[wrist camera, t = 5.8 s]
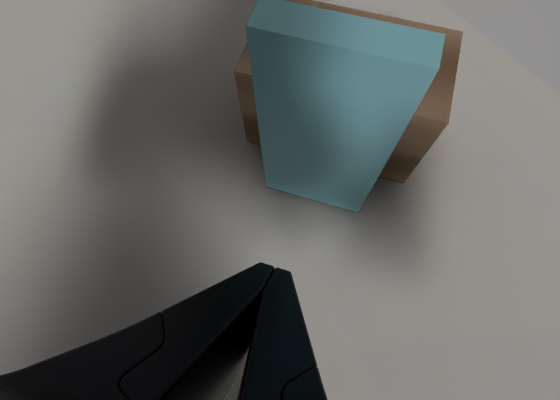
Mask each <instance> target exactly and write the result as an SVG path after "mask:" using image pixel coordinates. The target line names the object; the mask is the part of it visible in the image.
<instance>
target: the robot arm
mask: <svg viewBox="0 0 560 400" xmlns="http://www.w3.org/2000/svg"><path fill="white" fill-rule="evenodd" d="M248 350H249V351H248ZM247 352H248V355H247V359H246V363H245V368H244V372H243V377H242V381H241V385H240V390H239V394H238V398H237V400H327V397H326V393H325V390H324V387H323V384H322V381H321V377H320V374H319V370H318V368H317V363H316V360H315V356H314V353H313V349H312V346H311V342H310V339H309V335H308V331H307V328H306V324H305V321H304V317H303V314H302V310H301V307H300V303H299V299H298V296H297V292H296V289H295V285H294V282H293V278H292V275H291V272H289V271H287V270H283V269H280V268H274V267H273V266H271V265H268V264H264V263H258V264H256V265H254V266H252V267H249V268H247V269H245V270H243V271H241V272H239V273H237V274H235V275H233V276H231V277H229V278H227V279H225V280H223V281H221V282H219V283H217V284H215V285H213V286H211V287H209V288H207V289H205V290H203V291H201V292H199V293H197V294H195V295H193V296H191V297H189V298H187V299H185V300H183V301H181V302H179V303H177V304H175V305H173V306H171V307H169V308H167V309H165V310H163V311H162V313H161V312H159V313H157V314H155V315H153V316H151V317H149V318H147V319H145V320H142V321H140V322H138V323H136V324H134V325H132V326H129V327H127V328H125V329H123V330H121V331H118V332H116V333H113V334H111V335H108V336H106V337H103V338H101V339H99V340H96V341H94V342H91V343H88V344H86V345H83V346H81V347H78V348H75V349H73V350H70V351H68V352H65V353H62V354H60V355H57V356H55V357H52V358H49V359H47V360H44V361H42V362H39V363H37V364H34V365H31V366H29V367H26V368H23V369H20V370H17V371H15V372H11V373H7V374H4V375H0V400H223V399H224V397H225V395H226V393H227V391H228V389H229V387H230V385H231V383H232V382H233V380H234V378H235V376H236V374H237V372H238V370H239V368H240V366H241V364H242V362H243V360H244V358H245V356H246V354H247Z"/></svg>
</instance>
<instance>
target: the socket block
mask: <svg viewBox="0 0 560 400" xmlns="http://www.w3.org/2000/svg"><path fill="white" fill-rule="evenodd" d="M285 1H289V2H294V3H299V4H304V5H309V6H313V7H318V8H323V9H328V10H333V11H337V12H342V13H347V14H352V15H356V16H361V17H366V18H371V19H376V20H380V21H385V22H390V23H395V24H399V25H404V26H409V27H414V28H419V29H423V30H428V31H433V32H438V33H443V34H446V35H445V40H444V46H443V51H442V57H441V62H440V68H439V70H438V72H437V74H436V76H435V77H434V79H433V81H432V83H431V84H430V86H429V88H428V90H427V92H426V93H425V95H424V97H423V99H422V100H421V102H420V104H419V106H418V107H417V109H416V111H415V113H414V115H413V116H412V118H411V120H410V122H409V123H408V125H407V127H406V129H405V130H404V132H403V134H402V136H401V138H400V139H399V141H398V143H397V145H396V146H395V148H394V150H393V152H392V153H391V155H390V157H389V159H388V161H387V162H386V164H385V166H384V168H383V169H382V171H381V173H380V175H379V177H383V178H386V179H390V180H394V181H398V182H401V183H404V182H405V180H406V179H407V178H408V176H409V175H410V174H411V172H412V171H413V170H414V168H415V167H416V166H417V164H418V163H419V162H420V160H421V159H422V158H423V156H424V155H425V154H426V152H427V151H428V150H429V148H430V147H431V146H432V144H433V143H434V142H435V140H436V139H437V138H438V136H439V135H440V134H441V132H442V131H443V130H444V128H445V127H446V126H447V124H448V123H449V116H450V110H451V104H452V97H453V91H454V85H455V78H456V72H457V65H458V59H459V53H460V46H461V40H462V34H463V32H462V31H457V30H452V29H448V28H443V27H438V26H433V25H428V24H423V23H419V22H414V21H409V20H404V19H399V18H394V17H390V16H385V15H380V14H375V13H370V12H365V11H361V10H356V9H351V8H346V7H341V6H336V5H332V4H327V3H322V2H317V1H312V0H285ZM234 73H235V79H236V84H237V89H238V94H239V100H240V105H241V110H242V115H243V121H244V126H245V131H246V136H247V141H249V142H253V143H256V144H260V145H261V143H260V135H259V127H258V119H257V111H256V103H255V95H254V87H253V79H252V72H251V64H250V56H249V48H248V43H247V45H246V47H245V49H244V51H243V53H242V55H241V57H240V60H239V62H238V64H237V66H236V68H235V70H234Z"/></svg>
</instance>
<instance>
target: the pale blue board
mask: <svg viewBox="0 0 560 400" xmlns="http://www.w3.org/2000/svg"><path fill="white" fill-rule="evenodd" d="M246 32H247V40H248V48H249V56H250V64H251V72H252V79H253V87H254V95H255V103H256V111H257V119H258V127H259V135H260V143H261V151H262V159H263V167H264V175H265V182H266V187H270V188H273V189H277V190H280V191H284V192H287V193H291V194H294V195H298V196H301V197H305V198H308V199H312V200H315V201H319V202H322V203H326V204H329V205H333V206H336V207H340V208H343V209H347V210H350V211H354V212H357V213H358V212H359V210H360V208H361V207H362V205H363V203H364V201H365V199H366V198H367V196H368V194H369V192H370V191H371V189H372V187H373V185H374V184H375V182H376V180H377V178H378V176H379V175H380V173H381V171H382V169H383V168H384V166H385V164H386V162H387V161H388V159H389V157H390V155H391V153H392V152H393V150H394V148H395V146H396V145H397V143H398V141H399V139H400V138H401V136H402V134H403V132H404V130H405V129H406V127H407V125H408V123H409V122H410V120H411V118H412V116H413V115H414V113H415V111H416V109H417V107H418V106H419V104H420V102H421V100H422V99H423V97H424V95H425V93H426V92H427V90H428V88H429V86H430V84H431V83H432V81H433V79H434V77H435V76H436V74H437V72H438V70H439V68H440V62H441V57H442V51H443V46H444V40H445V35H446V34H443V33H438V32H433V31H428V30H423V29H419V28H414V27H409V26H404V25H399V24H395V23H390V22H385V21H380V20H376V19H371V18H366V17H361V16H356V15H352V14H347V13H342V12H337V11H333V10H328V9H323V8H318V7H313V6H309V5H304V4H299V3H294V2H289V1H285V0H258V2H257V4H256V6H255V8H254V10H253V12H252V14H251V16H250V18H249V20H248V22H247V24H246Z"/></svg>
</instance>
